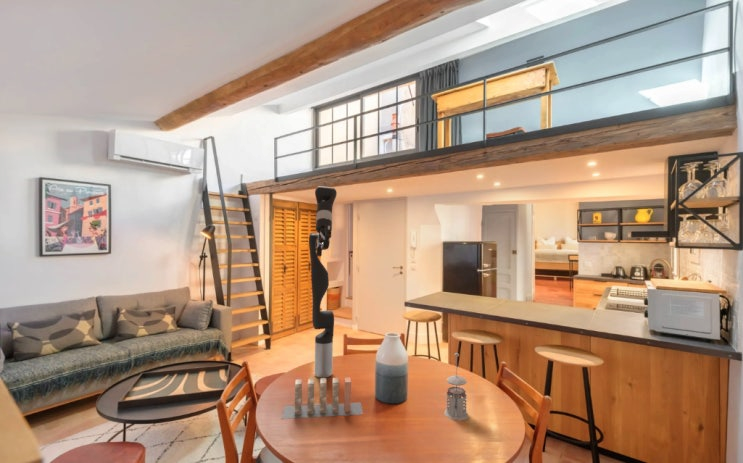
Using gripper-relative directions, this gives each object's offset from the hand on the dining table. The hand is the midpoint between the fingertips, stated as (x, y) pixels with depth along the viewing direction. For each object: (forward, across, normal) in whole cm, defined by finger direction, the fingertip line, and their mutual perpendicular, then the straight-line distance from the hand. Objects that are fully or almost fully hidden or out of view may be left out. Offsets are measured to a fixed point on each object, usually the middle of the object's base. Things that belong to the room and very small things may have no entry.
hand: (322, 252), depth 155 cm
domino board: (+63, -18, +11) cm, 67 cm away
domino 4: (+62, -16, +15) cm, 66 cm away
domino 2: (+63, -19, +6) cm, 66 cm away
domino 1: (+63, -21, +1) cm, 66 cm away
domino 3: (+62, -18, +10) cm, 66 cm away
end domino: (+62, -14, +20) cm, 67 cm away
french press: (+65, +8, +59) cm, 88 cm away
